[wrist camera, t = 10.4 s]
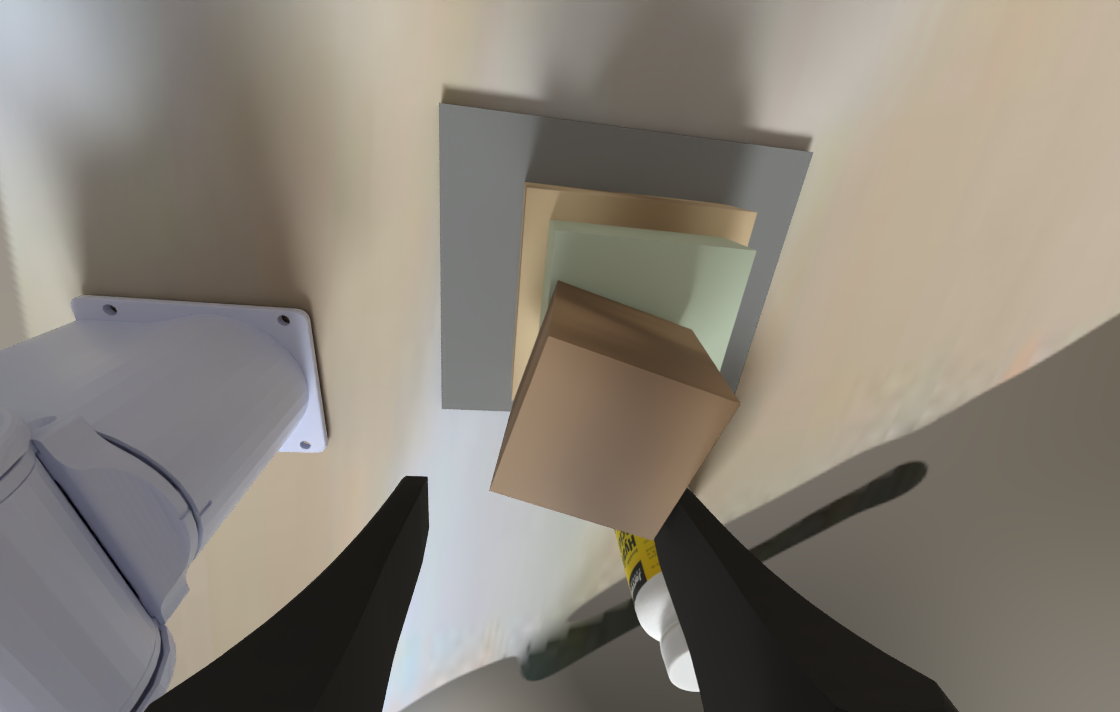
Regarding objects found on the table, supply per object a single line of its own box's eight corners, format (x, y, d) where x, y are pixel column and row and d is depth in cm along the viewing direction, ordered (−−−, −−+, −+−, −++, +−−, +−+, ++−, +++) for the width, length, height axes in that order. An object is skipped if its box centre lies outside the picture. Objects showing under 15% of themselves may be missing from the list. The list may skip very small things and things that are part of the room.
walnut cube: (514, 399, 17) (489, 490, 12) (558, 280, 15) (548, 335, 10) (633, 439, 17) (652, 540, 13) (692, 329, 15) (740, 403, 11)
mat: (443, 403, 23) (441, 408, 23) (441, 104, 17) (439, 102, 17) (722, 414, 25) (726, 419, 25) (806, 152, 19) (813, 152, 19)
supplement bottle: (602, 482, 27) (647, 646, 18) (687, 462, 27) (774, 616, 18) (615, 541, 29) (660, 711, 20) (693, 523, 29) (772, 685, 20)
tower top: (533, 382, 19) (536, 413, 17) (549, 219, 16) (555, 230, 14) (683, 389, 20) (704, 420, 18) (724, 237, 17) (756, 250, 15)
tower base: (511, 370, 22) (511, 400, 19) (524, 181, 18) (526, 187, 16) (678, 378, 23) (700, 408, 21) (723, 203, 19) (757, 212, 17)
